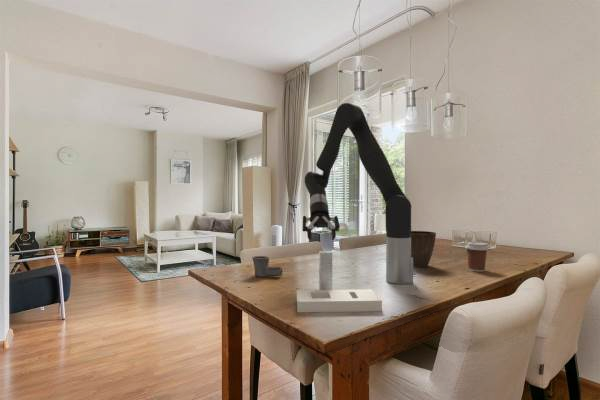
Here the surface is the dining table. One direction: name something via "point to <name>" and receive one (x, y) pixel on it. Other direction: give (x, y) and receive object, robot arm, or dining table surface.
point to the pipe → (265, 267)
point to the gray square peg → (325, 270)
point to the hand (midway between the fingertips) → (321, 238)
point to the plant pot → (422, 247)
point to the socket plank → (338, 301)
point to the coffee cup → (476, 256)
